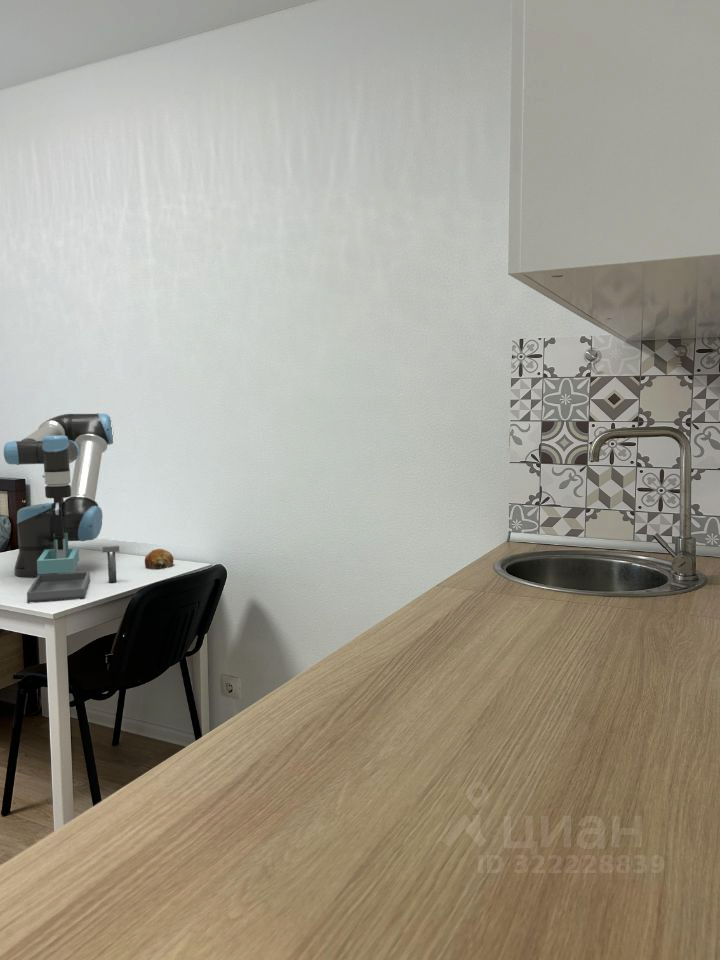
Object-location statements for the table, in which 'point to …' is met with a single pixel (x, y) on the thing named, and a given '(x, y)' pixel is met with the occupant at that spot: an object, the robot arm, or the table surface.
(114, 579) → the t stake
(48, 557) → the teal boxy piece
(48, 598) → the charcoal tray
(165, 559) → the bread roll
